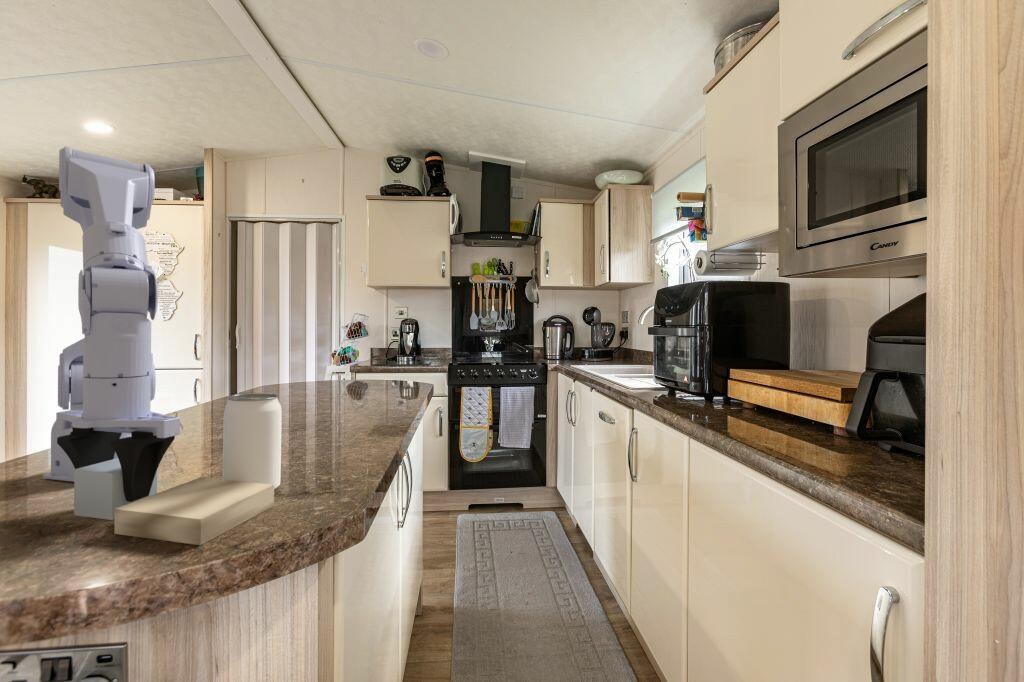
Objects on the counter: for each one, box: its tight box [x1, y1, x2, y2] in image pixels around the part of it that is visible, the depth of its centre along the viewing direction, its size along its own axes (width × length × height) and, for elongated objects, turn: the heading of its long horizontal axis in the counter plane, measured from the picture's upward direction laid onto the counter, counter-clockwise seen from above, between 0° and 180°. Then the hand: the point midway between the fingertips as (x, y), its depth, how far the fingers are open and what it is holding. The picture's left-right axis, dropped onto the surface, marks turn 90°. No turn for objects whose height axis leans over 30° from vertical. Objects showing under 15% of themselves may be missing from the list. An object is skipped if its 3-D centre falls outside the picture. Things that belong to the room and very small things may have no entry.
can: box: [222, 392, 283, 491], centre depth 58 cm, size 6×6×12 cm
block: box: [73, 458, 158, 521], centre depth 51 cm, size 5×5×5 cm
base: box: [114, 477, 275, 546], centre depth 49 cm, size 10×10×2 cm
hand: (117, 496), depth 51 cm, fingers closed on block, 5 cm apart
